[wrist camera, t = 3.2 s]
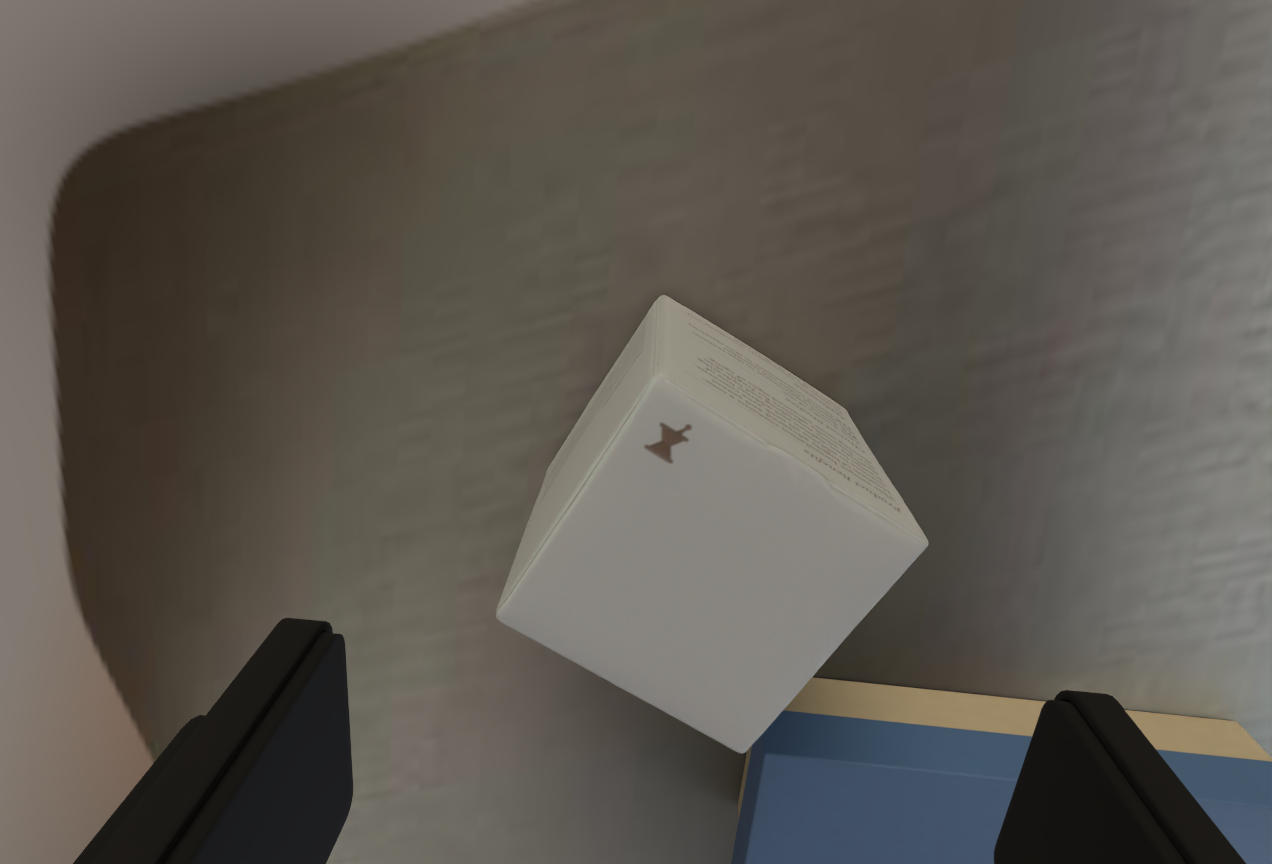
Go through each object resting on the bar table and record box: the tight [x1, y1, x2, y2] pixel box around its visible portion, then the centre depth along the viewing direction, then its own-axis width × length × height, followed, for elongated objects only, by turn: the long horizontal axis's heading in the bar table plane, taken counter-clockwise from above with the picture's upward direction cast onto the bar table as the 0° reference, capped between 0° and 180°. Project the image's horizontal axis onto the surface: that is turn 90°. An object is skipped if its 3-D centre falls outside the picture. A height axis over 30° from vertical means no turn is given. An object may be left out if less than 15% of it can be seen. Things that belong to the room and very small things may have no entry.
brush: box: [731, 677, 1272, 864], centre depth 23 cm, size 15×6×4 cm, turn 85°
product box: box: [496, 295, 928, 754], centre depth 18 cm, size 6×6×7 cm
